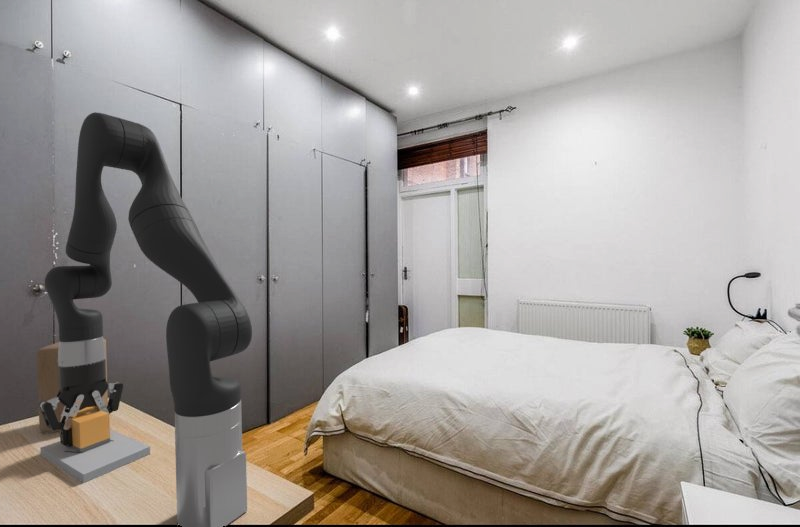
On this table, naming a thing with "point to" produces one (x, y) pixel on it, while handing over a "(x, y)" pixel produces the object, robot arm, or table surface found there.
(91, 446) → the block
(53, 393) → the block
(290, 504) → the table surface
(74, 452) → the board
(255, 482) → the table surface
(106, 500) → the table surface
